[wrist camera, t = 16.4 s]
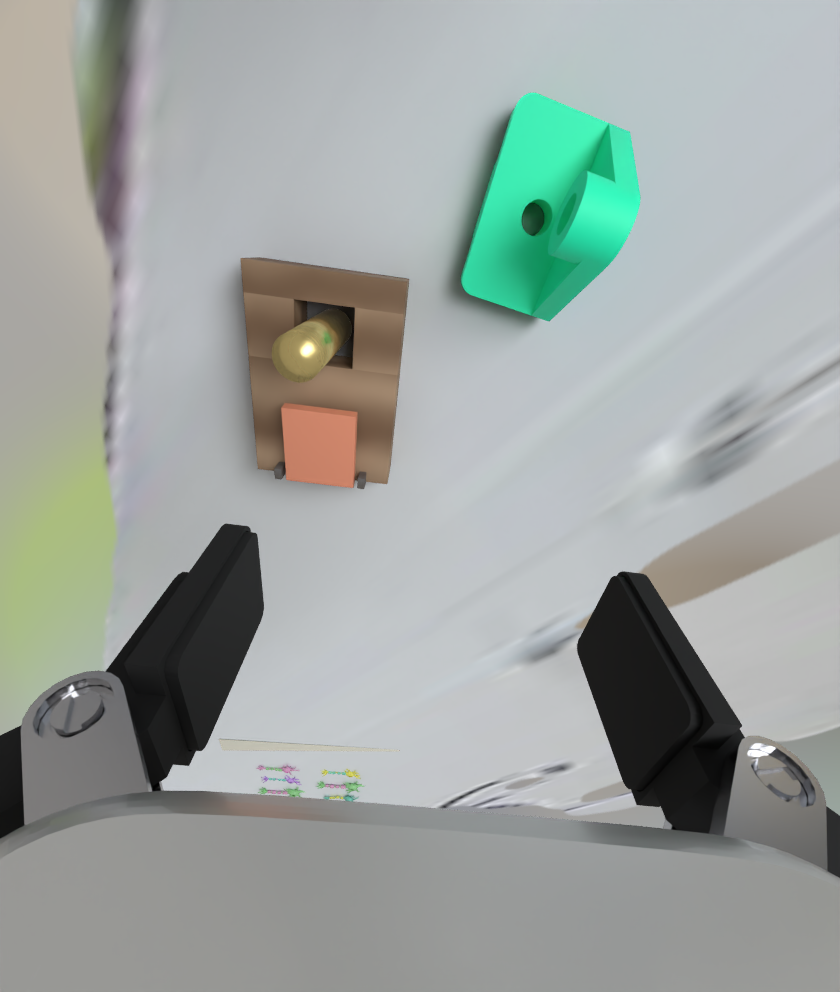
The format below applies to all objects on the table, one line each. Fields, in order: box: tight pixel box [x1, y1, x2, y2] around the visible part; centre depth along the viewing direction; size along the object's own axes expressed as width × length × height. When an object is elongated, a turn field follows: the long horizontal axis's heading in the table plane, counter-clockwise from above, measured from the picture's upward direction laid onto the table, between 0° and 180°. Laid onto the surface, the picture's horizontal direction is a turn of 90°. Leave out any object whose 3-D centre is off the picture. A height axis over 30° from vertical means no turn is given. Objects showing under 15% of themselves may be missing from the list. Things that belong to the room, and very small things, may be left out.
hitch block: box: [241, 258, 409, 489], centre depth 35 cm, size 17×12×5 cm
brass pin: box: [272, 308, 352, 383], centre depth 30 cm, size 3×3×12 cm
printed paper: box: [219, 739, 400, 802], centre depth 76 cm, size 30×30×2 cm
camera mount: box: [461, 93, 640, 321], centre depth 27 cm, size 12×8×10 cm, turn 163°
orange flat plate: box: [281, 403, 358, 488], centre depth 36 cm, size 7×6×1 cm
